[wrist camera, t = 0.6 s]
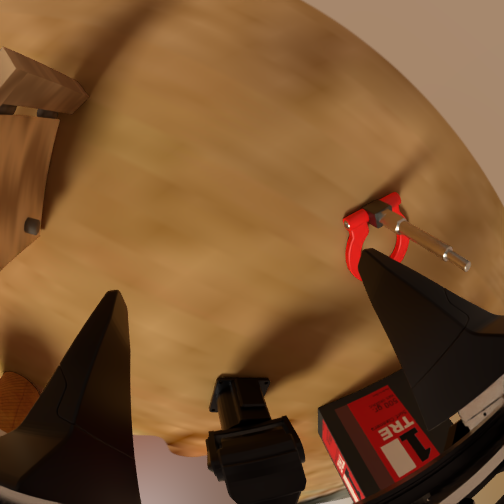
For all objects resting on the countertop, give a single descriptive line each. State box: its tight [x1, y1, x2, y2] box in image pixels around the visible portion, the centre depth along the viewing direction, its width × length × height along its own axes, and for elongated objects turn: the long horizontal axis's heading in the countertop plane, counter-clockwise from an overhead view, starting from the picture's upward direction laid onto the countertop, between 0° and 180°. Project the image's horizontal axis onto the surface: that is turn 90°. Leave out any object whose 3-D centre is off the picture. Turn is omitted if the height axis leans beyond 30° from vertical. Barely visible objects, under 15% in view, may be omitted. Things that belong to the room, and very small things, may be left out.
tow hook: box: [343, 192, 471, 281], centre depth 22 cm, size 8×13×9 cm
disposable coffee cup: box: [0, 372, 39, 436], centre depth 19 cm, size 10×10×12 cm
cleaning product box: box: [318, 369, 453, 503], centre depth 31 cm, size 16×9×20 cm, turn 100°
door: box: [0, 104, 60, 271], centre depth 13 cm, size 11×2×10 cm, turn 160°
